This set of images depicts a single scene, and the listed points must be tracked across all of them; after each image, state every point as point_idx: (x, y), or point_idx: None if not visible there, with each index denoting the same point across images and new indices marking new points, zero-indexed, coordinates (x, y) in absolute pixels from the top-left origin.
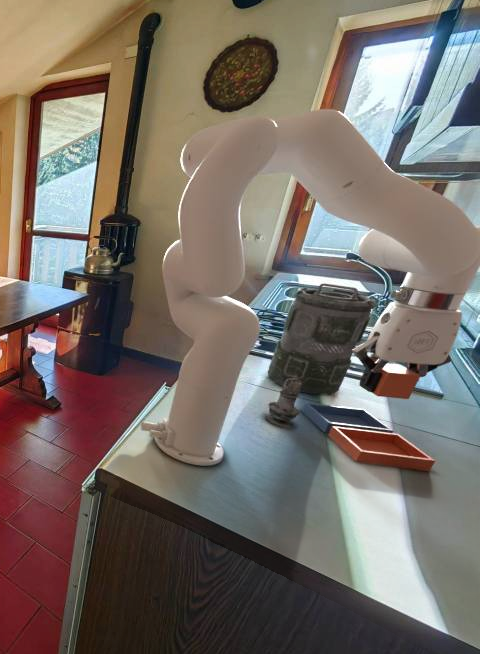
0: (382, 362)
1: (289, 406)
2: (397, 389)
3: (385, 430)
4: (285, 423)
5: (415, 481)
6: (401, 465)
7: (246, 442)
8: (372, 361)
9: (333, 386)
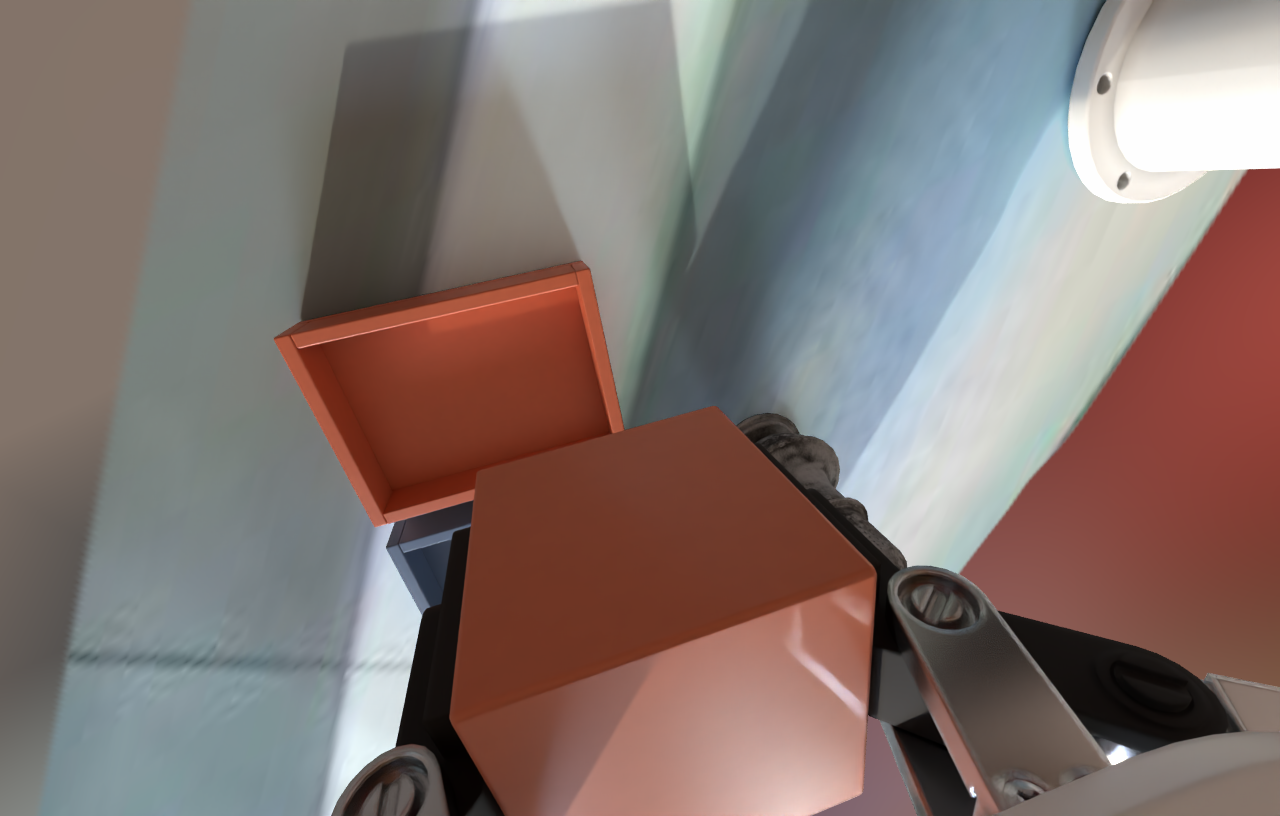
0: (1034, 731)
1: (803, 475)
2: (614, 484)
3: (418, 535)
4: (753, 437)
5: (383, 194)
6: (412, 299)
7: (938, 221)
8: (1096, 708)
9: None
